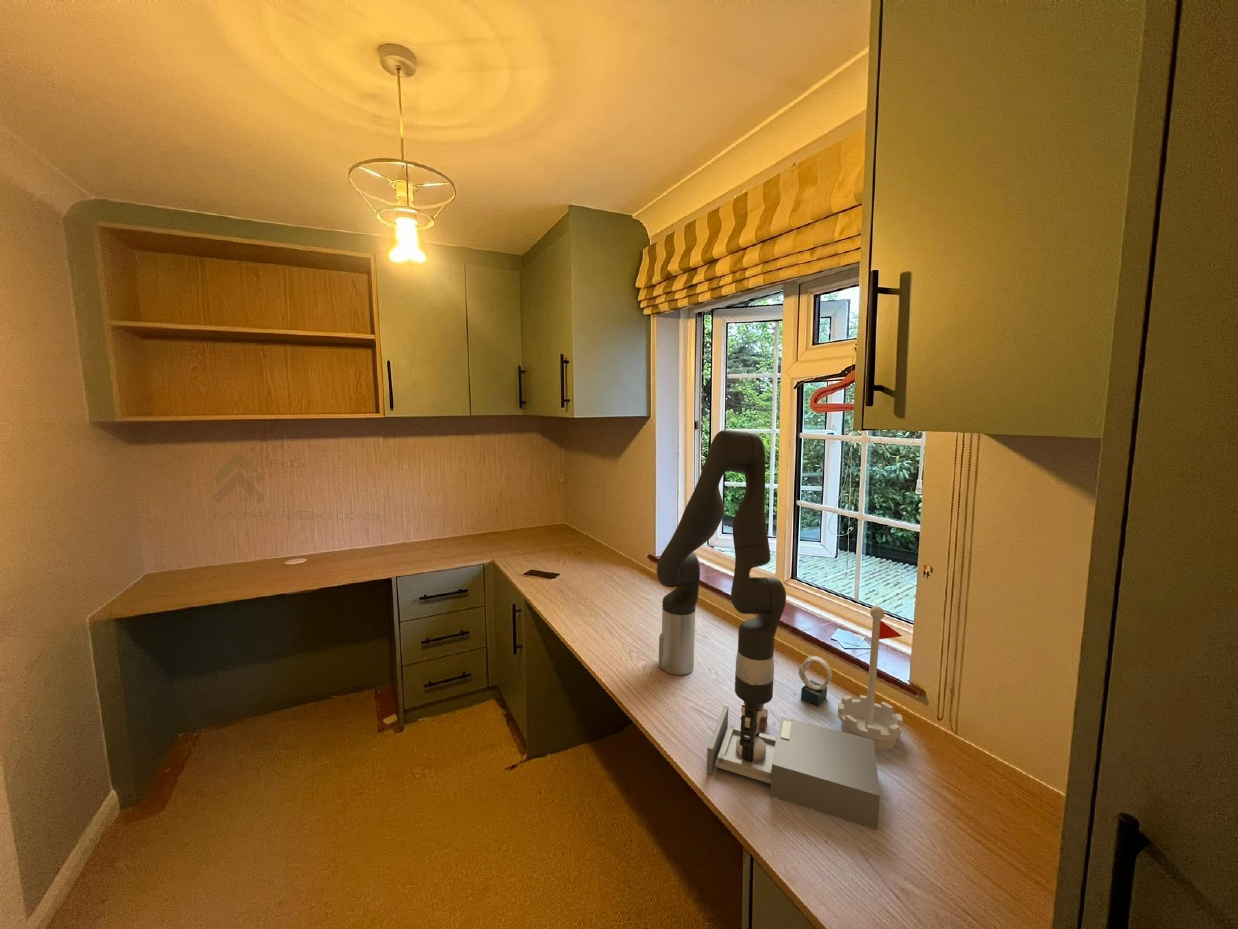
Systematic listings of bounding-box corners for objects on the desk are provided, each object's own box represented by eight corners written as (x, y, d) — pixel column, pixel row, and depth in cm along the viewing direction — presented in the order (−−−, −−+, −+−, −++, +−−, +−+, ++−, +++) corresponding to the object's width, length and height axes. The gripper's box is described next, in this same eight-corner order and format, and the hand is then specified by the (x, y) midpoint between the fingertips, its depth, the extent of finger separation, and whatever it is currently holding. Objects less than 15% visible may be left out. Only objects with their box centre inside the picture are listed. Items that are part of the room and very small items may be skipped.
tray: (706, 773, 98) (707, 747, 97) (723, 728, 112) (724, 705, 111) (802, 803, 91) (804, 776, 90) (807, 751, 105) (808, 727, 104)
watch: (802, 688, 129) (804, 648, 128) (833, 701, 124) (836, 659, 122) (793, 697, 125) (795, 656, 124) (824, 710, 120) (827, 668, 118)
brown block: (750, 728, 113) (751, 713, 112) (752, 720, 115) (753, 706, 115) (765, 731, 111) (765, 717, 111) (767, 723, 114) (767, 709, 114)
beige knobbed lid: (733, 756, 100) (733, 748, 100) (738, 738, 106) (739, 731, 106) (763, 765, 98) (764, 757, 98) (767, 746, 103) (768, 739, 103)
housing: (770, 795, 93) (772, 763, 92) (779, 744, 107) (780, 715, 107) (877, 830, 86) (880, 794, 85) (871, 769, 100) (873, 738, 99)
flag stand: (828, 734, 111) (837, 607, 108) (846, 708, 121) (855, 591, 117) (892, 762, 102) (904, 624, 99) (906, 732, 112) (917, 606, 109)
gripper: (741, 653, 108) (738, 722, 110) (728, 686, 95) (725, 764, 97) (777, 661, 105) (773, 731, 107) (769, 696, 92) (764, 775, 94)
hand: (750, 747), depth 102 cm, fingers open, 8 cm apart
